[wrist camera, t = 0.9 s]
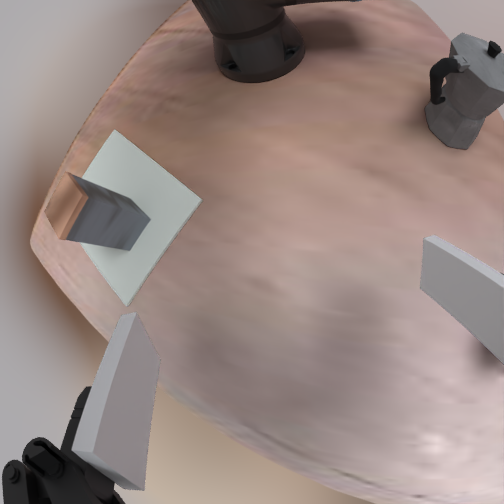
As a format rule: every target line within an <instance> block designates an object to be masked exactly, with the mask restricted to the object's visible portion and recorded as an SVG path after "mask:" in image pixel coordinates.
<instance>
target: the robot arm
mask: <svg viewBox="0 0 504 504" xmlns="http://www.w3.org/2000/svg"><path fill="white" fill-rule="evenodd" d="M332 1H351V2H355V1H361V0H192V2H193V3H194V5H195V7H196V8H197V10H198V11H199V13H200V15H201V16H202V18H203V19H204V21H205V23H206V24H207V26H208V28H209V29H210V31H211V33H212V34H213V43H214V54H215V60H216V62H217V64H218V66H219V68H220V69H221V71H222V72H223V73H224V75H226V76H227V77H229V78H231V79H233V80H236V81H240V82H250V83H251V82H263V81H268V80H271V79H275V78H277V77H280V76H282V75H284V74H286V73H288V72H289V71H291V70H292V69H294V68H295V67H296V66H297V65H298V64H299V63H300V61H301V60H302V58H303V56H304V52H305V47H304V42H303V38H302V35H301V33H300V32H299V30H298V29H297V28H296V26H295V25H294V24H293V22H292V21H291V20H290V19H289V17H288V16H287V15H286V13H285V10H284V6H290V5H297V4H306V3H317V2H332ZM420 289H421V290H423V291H424V292H425V293H426V294H427V295H429V296H430V297H431V298H432V299H433V300H435V301H436V302H437V303H438V304H439V305H440V306H442V307H443V308H444V309H445V310H446V311H447V312H448V313H450V314H451V315H452V316H453V317H454V318H455V319H456V320H457V321H459V322H460V323H461V324H462V325H463V326H464V327H465V328H466V329H467V330H468V331H470V332H471V333H472V334H473V335H474V336H475V337H476V338H477V339H478V340H479V341H480V342H481V343H482V344H483V345H484V346H485V347H486V348H487V349H488V350H489V351H491V352H492V353H493V354H494V355H495V356H496V357H497V358H498V359H499V360H500V361H501V362H502V363H503V365H504V274H502V273H499V272H498V271H496V270H495V269H493V268H492V267H490V266H488V265H487V264H485V263H483V262H482V261H480V260H478V259H477V258H475V257H473V256H472V255H470V254H468V253H466V252H465V251H463V250H461V249H459V248H458V247H456V246H454V245H452V244H450V243H449V242H447V241H445V240H443V239H441V238H439V237H438V236H436V235H432V236H429V237H426V238H423V258H422V271H421V281H420ZM160 362H161V359H160V357H159V355H158V353H157V351H156V350H155V348H154V346H153V344H152V342H151V340H150V338H149V336H148V334H147V332H146V330H145V328H144V326H143V324H142V322H141V320H140V318H139V316H138V314H137V312H134V313H129V314H124V315H121V317H120V319H119V321H118V323H117V326H116V328H115V330H114V333H113V335H112V337H111V340H110V342H109V344H108V347H107V349H106V351H105V354H104V356H103V359H102V361H101V364H100V366H99V369H98V372H97V374H96V377H95V379H94V382H93V385H92V386H91V387H86V388H85V389H84V390H83V392H82V393H81V394H80V395H79V397H78V399H77V402H76V405H75V407H74V409H75V410H73V413H72V415H71V420H70V421H69V424H68V427H67V430H66V433H65V436H64V440H63V443H62V446H61V449H60V450H59V449H58V448H57V447H55V446H54V445H53V444H52V443H51V442H50V441H49V440H47V439H45V438H41V437H38V438H35V439H32V440H31V441H30V442H29V443H28V444H27V445H26V447H25V449H24V451H23V455H22V461H23V463H22V462H20V461H18V460H12V461H10V462H8V463H7V464H6V466H5V467H4V470H3V474H2V485H3V497H4V498H3V499H4V504H125V503H124V501H123V500H122V498H121V497H120V496H119V494H118V493H117V492H116V491H115V490H114V484H115V483H116V484H117V485H119V486H120V487H122V488H124V489H129V490H142V491H144V490H145V476H146V465H147V454H148V445H149V436H150V427H151V420H152V413H153V406H154V399H155V392H156V386H157V380H158V374H159V368H160ZM24 464H25V465H26V466H25V465H24Z"/></svg>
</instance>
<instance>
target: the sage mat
mask: <svg viewBox="0 0 504 504" xmlns="http://www.w3.org/2000/svg"><path fill="white" fill-rule="evenodd" d="M82 179H85V180H87V181H90V182H92V183H94V184H97V185H99V186H102V187H104V188H107V189H109V190H111V191H114V192H116V193H119V194H121V195H124V196H126V197H128V198H131V199H132V200H133V201H134V202H135V204H136V205H137V206H138V207H139V208H140V209H141V210H142V211H143V212H144V213H145V214H146V215H147V216H148V217H149V218H150V219H151V220H150V222H149V223H148V224H147V226H146V227H145V229H144V230H143V232H142V233H141V235H140V236H139V238H138V239H137V241H136V242H135V244H134V245H133V247H132V249H131V250H130V251H128V250H122V249H116V248H110V247H104V246H98V245H92V244H87V243H81V242H80V244H81V245H82V247H83V248H84V250H85V251H86V253H87V254H88V256H89V257H90V259H91V260H92V262H93V263H94V264H95V266H96V267H97V269H98V270H99V271H100V273H101V274H102V276H103V277H104V278H105V280H106V281H107V282H108V284H109V285H110V286H111V288H112V289H113V290H114V292H115V293H116V294H117V295H118V297H119V298H120V299H121V301H122V302H123V303H124V304H125V306H126V307H128V306H129V305H130V303H131V302H132V300H133V298H134V297H135V295H136V294H137V292H138V291H139V289H140V288H141V286H142V285H143V283H144V282H145V280H146V279H147V277H148V276H149V274H150V273H151V271H152V270H153V269H154V267H155V266H156V264H157V263H158V261H159V260H160V258H161V257H162V256H163V254H164V253H165V251H166V250H167V248H168V247H169V246H170V244H171V243H172V241H173V240H174V239H175V237H176V236H177V235H178V233H179V232H180V230H181V229H182V228H183V226H184V225H185V224H186V222H187V221H188V220H189V218H190V217H191V216H192V214H193V213H194V212H195V210H196V209H197V208H198V206H199V205H200V204H201V202H202V201H203V200H202V199H201V198H200V197H198V196H197V195H196V194H195V193H194V192H192V191H191V190H190V189H189V188H187V187H186V186H185V185H184V184H182V183H181V182H180V181H179V180H178V179H176V178H175V177H174V176H173V175H171V174H170V173H169V172H168V171H166V170H165V169H164V168H163V167H161V166H160V165H159V164H158V163H156V162H155V161H154V160H153V159H151V158H150V157H149V156H148V155H146V154H145V153H144V152H143V151H142V150H140V149H139V148H138V147H137V146H135V145H134V144H133V143H132V142H130V141H129V140H128V139H126V138H125V137H124V136H123V135H121V134H120V133H119V132H118V131H116V130H115V129H114V131H113V132H112V134H111V135H110V136H109V138H108V139H107V140H106V142H105V143H104V145H103V146H102V148H101V149H100V151H99V152H98V154H97V155H96V157H95V158H94V160H93V161H92V163H91V164H90V166H89V167H88V169H87V170H86V172H85V174H84V175H83V177H82Z"/></svg>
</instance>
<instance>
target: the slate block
mask: <svg viewBox="0 0 504 504" xmlns="http://www.w3.org/2000/svg"><path fill="white" fill-rule="evenodd" d="M44 212H45V214H46V216H47V218H48V220H49V222H50V223H51V225H52V227H53V229H54V231H55V233H56V235H57V236H58V238H59V239H61V240H70V241H75V242H81V243H87V244H92V245H98V246H104V247H110V248H116V249H122V250H128V251H130V250H131V249H132V247H133V245H134V244H135V242H136V241H137V239H138V238H139V236H140V235H141V233H142V232H143V230H144V229H145V227H146V226H147V224H148V223H149V222H150V220H151V219H150V218H149V217H148V216H147V215H146V214H145V213H144V212H143V211H142V210H141V209H140V208H139V207H138V206H137V205H136V204H135V202H134V201H133V200H132V199H131V198H128V197H126V196H124V195H121V194H119V193H116V192H114V191H111V190H109V189H107V188H104V187H102V186H99V185H97V184H94V183H92V182H90V181H87V180H85V179H82V178H80V177H77V176H75V175H72V174H71V173H69V172H66V171H65V173H64V175H63V176H62V178H61V180H60V182H59V184H58V185H57V187H56V189H55V191H54V193H53V195H52V197H51V199H50V201H49V203H48V205H47V207H46V209H45V211H44Z"/></svg>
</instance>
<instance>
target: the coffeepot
mask: <svg viewBox="0 0 504 504" xmlns="http://www.w3.org/2000/svg"><path fill="white" fill-rule="evenodd" d="M501 51H502V50H501V48H500V46H498V45H497V44H496V43H495V42H493V41H490V42H489V43H487V42H486V41H484V40H482V39H479V38H476V37H473V36H471V35H467V34H464V33H461V34H460V35H458V36H457V37H456V38H454V39H453V40H452V41H451V47H450V54H449V58H443V59H441V60H440V61H439V62H437V63H436V64H435V65H433V67H432V68H431V70H430V93H431V101H430V102H429V104H428V105H427V106H426V107H425V113H426V120H427V123H428V125H429V129H430V130H431V131H432V132H433V133H434V134H435V136H436V137H437V138H438V139H439V140H441V141H442V142H443V143H445V144H446V145H447V146H449V147H453V148H457V149H468V148H469V146H470V145H471V144H472V143H473V141H474V140H475V139H476V137H477V135H478V133H479V131H480V129H481V127H482V125H483V122H484V120H485V118H486V116H488V115H490V114H491V113H492V112H493V111H495V110H496V109H497V108H498V107H500V106H501V105H502V104H503V103H504V54H503V53H501ZM444 77H445V78H446V81H447V82H446V84H445V85H444V86H443V87H442V84H443V81H444V80H443V79H444Z"/></svg>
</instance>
